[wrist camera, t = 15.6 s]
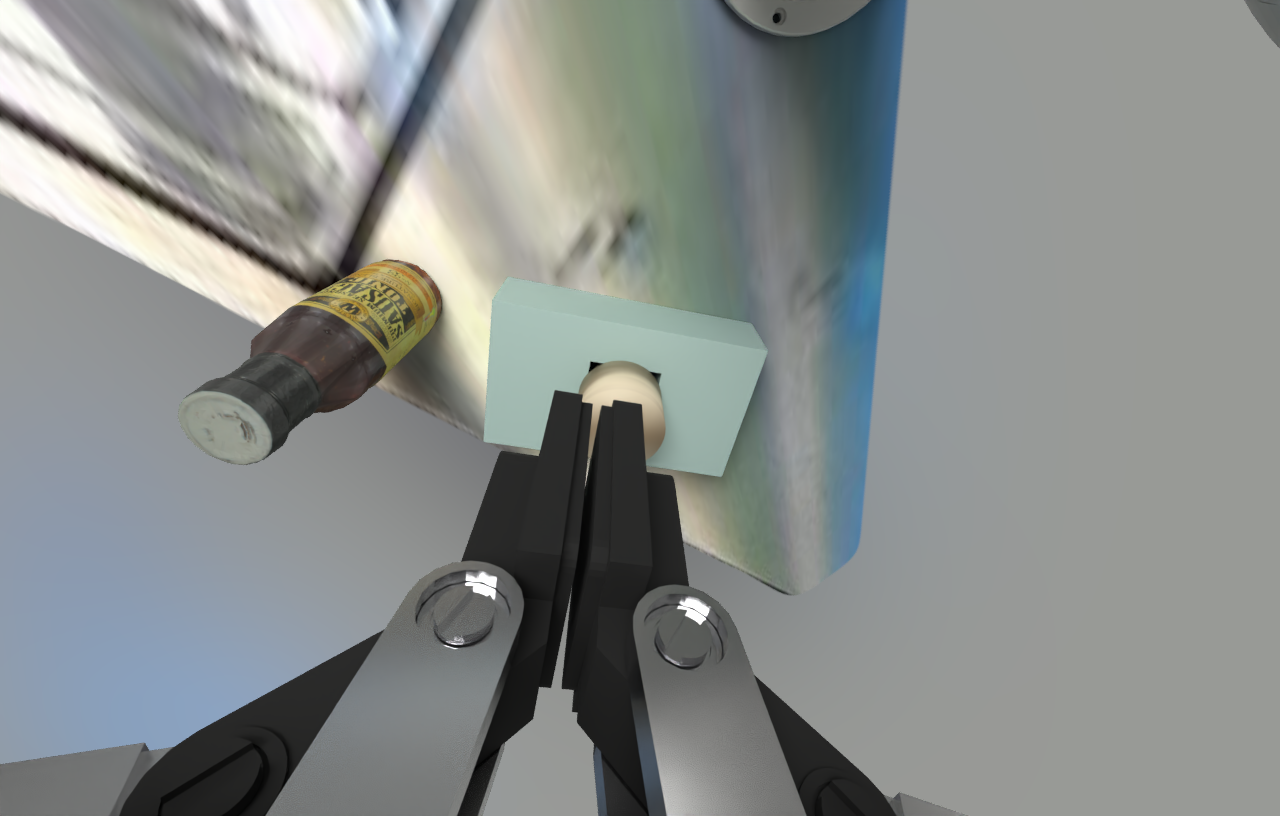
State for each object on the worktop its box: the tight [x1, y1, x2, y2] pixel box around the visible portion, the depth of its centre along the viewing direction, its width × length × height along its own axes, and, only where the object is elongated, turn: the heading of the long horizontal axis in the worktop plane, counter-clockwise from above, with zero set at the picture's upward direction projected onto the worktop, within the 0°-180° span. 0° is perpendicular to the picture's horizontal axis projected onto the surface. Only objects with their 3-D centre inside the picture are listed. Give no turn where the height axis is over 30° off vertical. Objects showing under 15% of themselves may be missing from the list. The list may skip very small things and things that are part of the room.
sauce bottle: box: [178, 260, 442, 465], centre depth 31 cm, size 6×6×20 cm
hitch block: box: [484, 277, 768, 477], centre depth 41 cm, size 12×20×6 cm, turn 78°
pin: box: [578, 361, 666, 460], centre depth 39 cm, size 6×6×10 cm
